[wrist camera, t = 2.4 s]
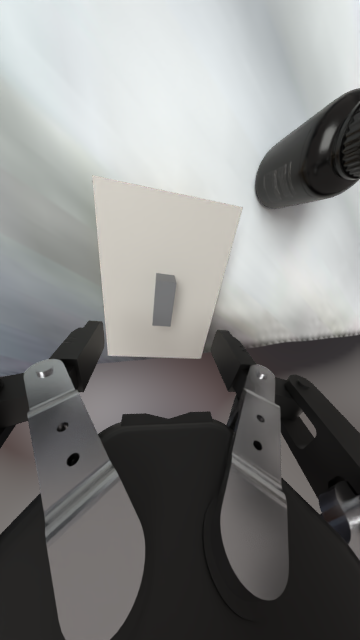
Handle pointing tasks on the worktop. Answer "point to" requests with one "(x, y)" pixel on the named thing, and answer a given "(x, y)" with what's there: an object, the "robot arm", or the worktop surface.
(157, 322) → the mailer lid
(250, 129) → the worktop surface
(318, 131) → the supplement bottle
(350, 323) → the worktop surface
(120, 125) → the worktop surface
